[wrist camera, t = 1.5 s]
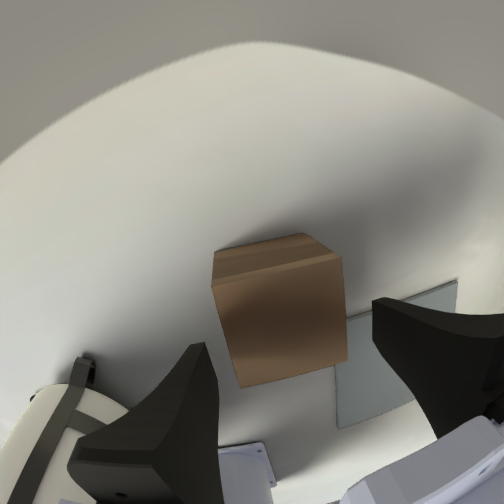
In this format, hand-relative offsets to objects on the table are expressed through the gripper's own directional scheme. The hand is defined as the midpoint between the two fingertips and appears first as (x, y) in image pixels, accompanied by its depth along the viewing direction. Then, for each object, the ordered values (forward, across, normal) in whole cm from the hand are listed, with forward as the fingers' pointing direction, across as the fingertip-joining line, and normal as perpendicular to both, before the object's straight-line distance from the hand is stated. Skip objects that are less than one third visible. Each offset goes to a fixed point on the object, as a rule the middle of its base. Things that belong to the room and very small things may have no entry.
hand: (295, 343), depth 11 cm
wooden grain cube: (+7, 0, 0) cm, 7 cm away
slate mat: (+7, -10, +10) cm, 16 cm away
